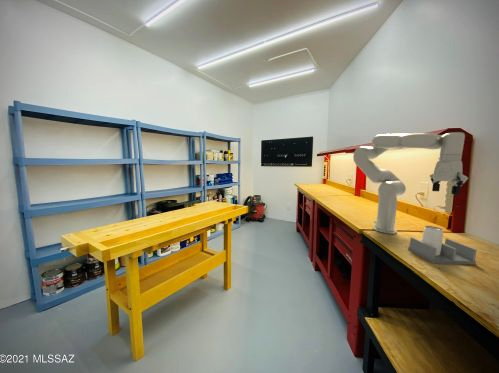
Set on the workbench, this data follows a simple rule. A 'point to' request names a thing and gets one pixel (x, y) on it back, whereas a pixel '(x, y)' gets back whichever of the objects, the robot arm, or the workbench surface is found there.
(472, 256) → the rack
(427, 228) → the can
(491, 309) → the workbench surface
